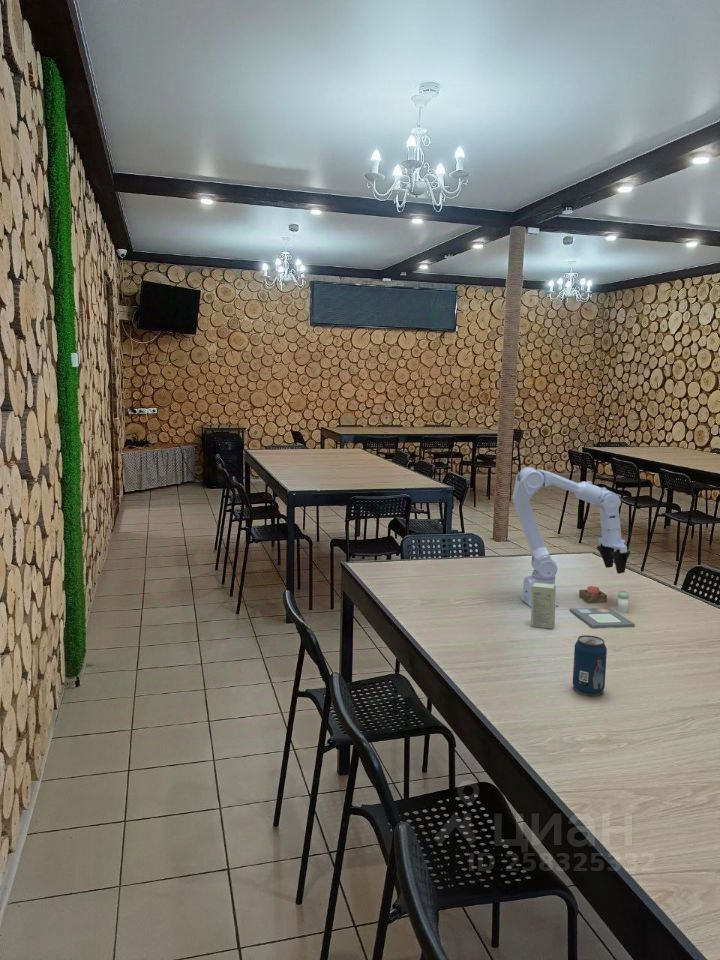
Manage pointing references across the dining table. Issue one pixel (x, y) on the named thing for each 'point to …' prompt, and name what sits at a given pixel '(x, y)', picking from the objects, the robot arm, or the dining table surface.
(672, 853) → the dining table surface
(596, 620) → the picture board
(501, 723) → the dining table surface
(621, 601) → the pale green cylinder
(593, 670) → the soda can
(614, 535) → the robot arm
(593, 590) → the button
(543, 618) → the skincare box
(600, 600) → the button box
